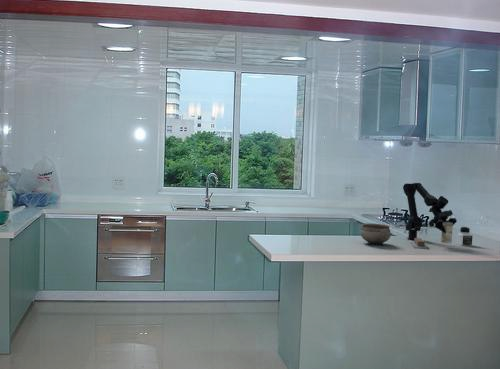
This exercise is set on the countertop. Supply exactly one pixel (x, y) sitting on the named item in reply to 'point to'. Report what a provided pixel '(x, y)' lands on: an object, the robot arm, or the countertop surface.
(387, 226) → the cooking pot
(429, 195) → the robot arm
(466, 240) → the medicine bottle
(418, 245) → the flat rectangular plate
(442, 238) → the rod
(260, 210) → the countertop surface
